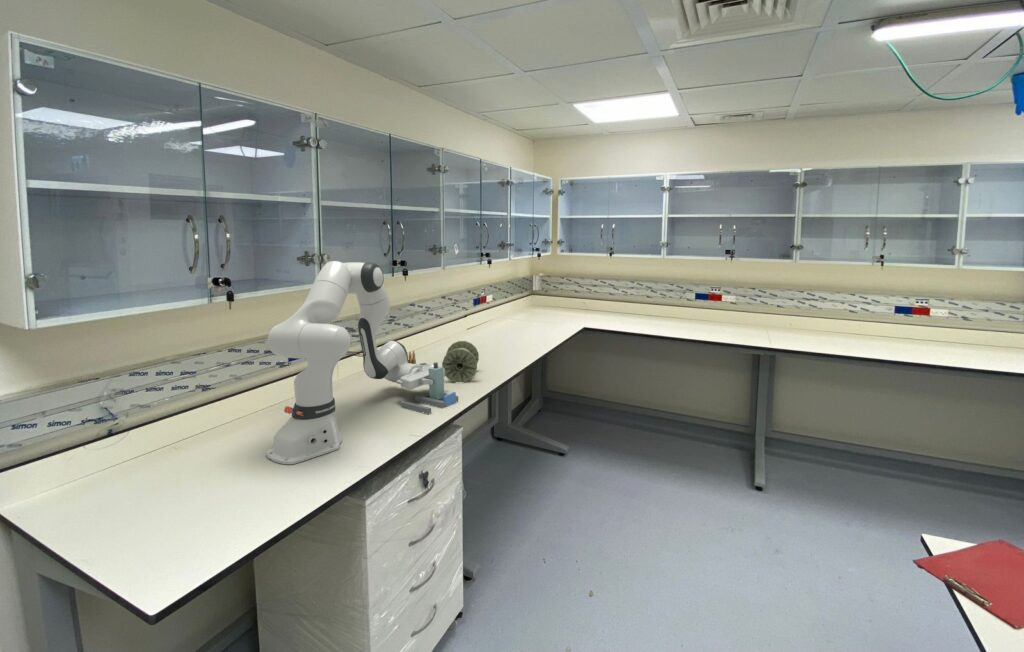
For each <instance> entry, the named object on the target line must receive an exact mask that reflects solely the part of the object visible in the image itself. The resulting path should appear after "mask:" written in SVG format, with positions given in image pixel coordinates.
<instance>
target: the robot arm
mask: <svg viewBox="0 0 1024 652" xmlns="http://www.w3.org/2000/svg"><path fill="white" fill-rule="evenodd" d="M384 280H385V278H384V272H383V270H382V268H381V267H380V266H379V265H378V264H377V263H375V262H371V261H369V262H368V261H366V262H360V261H358V262H357V261H356V262H355V261H354V262H353V261H351V262H350V261H349V262H342V261H338V260H330V261H328V262H327V263H325V264H324V265H323V266H322V268H321V269H320V270H319V272H318V274H317V275H316V278H315V279H314V281H313V282H312V285H311V288H310V290H309V292H308V294H307V296H306V299H305V301H303V304H302V305H301V306H300V307H299V308H298V309H297V311H295V313H293V314H292V315H291V316H290V317H288V318H287V319H286V320H284V321H282V322H280V323H279V324H276V325H275V326H273V327H272V328H271V329H270V331H269V333H268V336H267V346H268V348H269V351H270V352H271V353H272V354H274V355H277V356H279V357H282V358H287V359H304V360H305V359H306V360H307V366H306V369H304V370H302V371H300V372H299V373H298V374H297V375H296V376H295V378H294V380H293V387H294V388H293V389H294V397H295V400H294V401H295V402H294V404H293V407H291V406H287V405H286V406H285V407H284V409H283V412H285V413H286V414H289V415H290V414H291V417H290V418H289V419H288V420H287V421H286V422H285V423H284V424H283V425H282V426H281V427H280V428H279V429H278V430H277V432H276V433H275V435H274V437H273V438H274V439H273V447H271V448H269V449H267V450H266V451H265V452H266V454H265V455H266V457H267V459H269V460H270V459H271V460H270V461H273V462H275V463H279V464H282V465H295V464H298V463H301V462H305V461H307V460H311V459H313V458H317V457H319V456H322V455H325V454H328V453H329V454H330V453H332V452H335V451H338V450H339V449H340V444H341V443H342V441H343V438H342V435H341V433H340V430H339V427H338V423H337V422H338V421H337V417H336V409H337V408H336V402H335V401H336V400H335V397H334V396H333V395H334V394H333V393H334V392H333V374H334V370H335V368H336V366H337V364H338V362H340V360H341V359H342V358H343V357H345V356H346V354H348V352H349V350H350V347H351V336H350V334H349V332H348V330H347V329H346V328H345V327H344V326H340V325H336V324H331V322H334V321H335V320H336V319H337V318H338V317H339V316H340V314H341V311H342V309H343V306H344V304H345V301H346V298H347V296H348V294H352V295H355V296H356V299H357V302H358V304H359V320H358V323H357V330H358V335H359V340H360V341H359V342H360V347H361V351H362V357H363V360H362V363H363V367H362V368H363V370H364V372H365V375H366V376H368V377H369V378H370V379H373V380H383V379H385V380H387V381H389V382H393V383H396V384H399V385H400V386H401V387H402V388H405V389H408V390H414V389H416V388H418V387H421V386H424V385H426V386H427V385H429V384H430V385H433V384H435V381H434V380H433V379H429V368H431V367H434V364H431V365H430V363H428V362H422V363H416V364H410V363H408V360H409V356H408V357H407V353H408V351H407V349H406V347H405V345H404V344H403V343H401V342H400V341H397V340H389V341H387V342H386V343H384V344H383V345H382V346H381V347H380V348H379V349H378V346H377V341H376V335H377V331H378V329H379V327H380V325H381V324H382V323H383V321H384V320H385V319H387V316H388V315H389V313H390V309H391V303H390V298H389V295H388V291H387V290H386V287H385V285H384ZM438 367H440V366H439V365H438ZM443 374H444V378H445V377H446V376H445V369H444V368H443Z"/></svg>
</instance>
